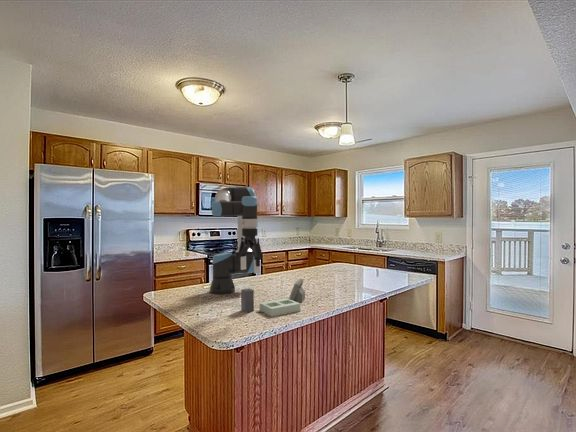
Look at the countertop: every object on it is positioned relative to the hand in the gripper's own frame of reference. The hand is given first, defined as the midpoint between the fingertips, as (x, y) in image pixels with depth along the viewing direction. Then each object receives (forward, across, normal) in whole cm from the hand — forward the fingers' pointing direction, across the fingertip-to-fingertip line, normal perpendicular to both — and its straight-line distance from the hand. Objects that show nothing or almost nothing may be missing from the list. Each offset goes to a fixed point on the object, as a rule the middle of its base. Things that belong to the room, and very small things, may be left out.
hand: (250, 271), depth 158 cm
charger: (+19, 0, -1) cm, 19 cm away
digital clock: (+19, -2, +30) cm, 36 cm away
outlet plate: (+19, +9, +11) cm, 24 cm away
